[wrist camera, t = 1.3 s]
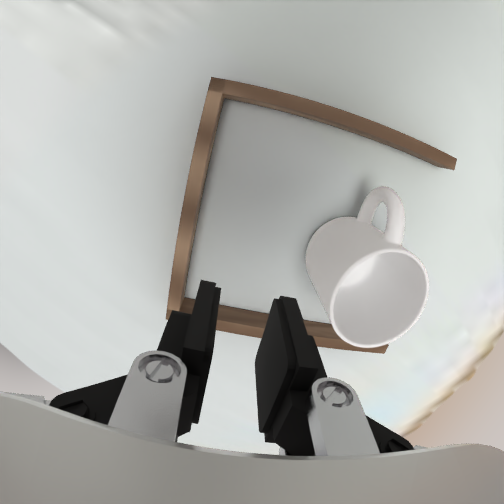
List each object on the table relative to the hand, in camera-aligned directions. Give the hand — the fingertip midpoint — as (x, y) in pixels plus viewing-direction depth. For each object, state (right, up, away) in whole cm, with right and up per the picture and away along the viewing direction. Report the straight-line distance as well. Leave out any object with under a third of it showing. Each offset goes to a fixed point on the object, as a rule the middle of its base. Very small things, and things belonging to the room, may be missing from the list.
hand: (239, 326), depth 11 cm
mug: (+10, +4, +19) cm, 22 cm away
